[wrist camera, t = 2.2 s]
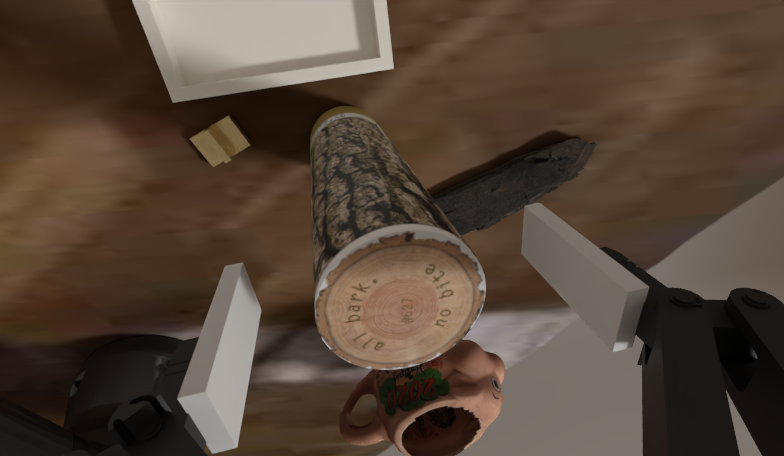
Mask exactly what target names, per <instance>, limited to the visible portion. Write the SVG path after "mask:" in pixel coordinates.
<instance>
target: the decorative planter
mask: <svg viewBox="0 0 784 456" xmlns="http://www.w3.org/2000/svg"><path fill="white" fill-rule="evenodd" d="M504 375H505V367H504V363H503V361H502V359H501V358H500V357H499V356H497V355H496V354H493V353H490V352H486V351H483V349H482V348H481V347H480V346H479V345H478V344H476V343H475V342H473V341H471V340H462V339H461V340H460V341H459V342H458V343H457V344H456V345H454V346H453V347H452V348H450V349H449V350H448V351H446V352H445V353H443V354H441V355H440V356H438V357H436V358H434V359H432V360H429V361H427V362H425V363H422V364H419V365H415V366H412V367H407V368H402V369H394V370H377V369H373V370H372V371H370V373H369V374H368V375H367V376H366V377H365V378H363V379H362V380H361V381H360V382H359V384H358V385H357V386H356V388H355V389H354V390H353V391H352V393H351V394H350V396H349V398H348V400H347V402H346V404H345V405H344V408H343V411H342V412H341V414H340V422H339V428H340V432H341V434H342V435H343V437H344V438H345V439H346V440H347V441H348V442H350V443H351V444H355V445H371V444H374V443H377V442H380V441H383V440H389V441H391V442H393V443H394V444H395V446H396V447H397V448H398V450H399V451H400V452H402V453H403V454H405V455H406V456H455V455H457V454H458V453H460V452H462V451H463V450H464V449H466V448H467V447H468V446H470V445H471V444H472V443H474V442H475V441H477V440H478V439H479V438H480V437H481V436H482V434H483V432H484V431H485V429H486V428H487V427H488V426H489V425H490V424H491V423H492V422H493V421H494V420H495V419H496V418H497V416H498V415H499V413H500V411H501V407H502V402H503V395H502V391H501V384H502V381H503V379H504ZM365 394H373V395H374V396H375V397H376V399H377V405H378V409H377V413H376V416H375V418H374V420H373V421H372V422H371V423H369V424H367V425H365V426H361V427H360V426H356V425H354V424H353V422H352V421H351V419H350V415H351V411H352V409H353V407H354V406H355V404H356V402H357V401H358V399H359V398H360V397H361V396H362V395H365Z"/></svg>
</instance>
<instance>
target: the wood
mask: <svg viewBox="0 0 784 456" xmlns="http://www.w3.org/2000/svg"><path fill="white" fill-rule="evenodd" d="M596 145H597V144H596V143H594V142H593V143H588V142H585V141H583V140H580V139H578V138H575V139H569V140H567V141H564V142H561V143H557V144H553V145H550V146H547V147H543V148H541V149H539V150H535V151H532V152H529V153H527V154H523V155H521V156H517V157H515V158H513V159H511V160H509V161H508V162H506V163H504V164H502V165H501V166H498V167H496V168H493V169H491V170H488V171H486V172H484V173H480V174H478V175H476V176H474V177H472V178H470V179H468V180H465V181H462V182H460V183H458V184H456V185H454V186H452V187H450V188H447V189H445V190H443V191H441V192H439V193H437V194H434V195H431V196H432V198H433V199H434V200H435V202H436V203H437V204H438V206H439V207H440V208H441V210H442V211H443V212H444V214H445V215H446V217H447V218H448V219H449V221H450V222H451V223H452V225H453V226H454V227H455V229H456V230H457V231H458V233H459V234H460V235H463V234H465V233H468V232H470V231H472V230H475V229H477V230H478V231H480V230H483V229H487V228H489V227H490V226H492V225H494V224H495V223H497V222H499V221H500V220H501V219H502V218H505V217H507V216H509V215H511V214H513V213H515V212H517V211H519V210H520V209H522V208H523V207H524V206H526V205H530V204H531V203H532V202H534V201H536V200H537V199H539V198H541V197H542V196H543V195H544V194H545V193H549V192H551V191H552V190H555V189H556V188H558V187H556V186H557V185H561V184H563V183H564V182H566V181H570V180H572V179H573V178H575V177H576V176H577V175H578V174H577V172H579V171H581V170H583V169H584V168H583V167H584V166H585V165H586V163H587V161H588V159H589V157H590V156H591V154H592V152H593V150H594V148H595V146H596Z"/></svg>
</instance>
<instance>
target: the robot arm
mask: <svg viewBox="0 0 784 456" xmlns="http://www.w3.org/2000/svg"><path fill="white" fill-rule="evenodd" d="M521 254H522V255H523V256H524V257H525V258H526V259H527V260H528V262H529V263H530V264H531V265H532V266H533V267H534V268H535V269H536V270H537V271H538V272H539V273H540V274H541V276H542V277H543V278H544V279H545V280H546V281H547V282H548V283H549V284H550V285H551V286H552V287H553V288H554V290H555V291H556V292H557V293H558V294H559V295H560V296H561V297H562V298H563V299H564V300H565V301H566V302H567V304H568V305H569V306H570V307H571V308H572V309H573V310H574V311H575V312H576V313H577V314H578V315H579V316H580V318H582V320H583V321H584V322H585V323H586V324H587V325H588V326H589V327H590V328H591V329H592V330H593V331H594V333H595V334H596V335H597V336H598V337H599V338H600V339H601V340H602V341H603V342H604V343H605V344H606V345H607V347H608V348H609V349H610V350H611V351H612V352H615V351H619V350H623V349H627V348H631V347H632V346H633V342H634V339H635V335H637V336H638V337H639V338H640V339H641V340H642V341H643V342H644V345H643V348H642V351H641V354H640V358H639V361H638V365H642V406H643V407H642V408H643V409H642V410H643V411H642V414H643V456H740V455H739V450H738V445H737V440H736V436H735V431H734V426H733V422H732V417H731V412H730V408H729V403H728V398H727V394H726V390H727V392H728V394H729V396H730V398H731V399H732V401H733V403H734V405H735V407H736V409H737V411H738V412H739V414H740V416H741V418H742V419H743V421H744V423H745V425H746V427H747V429H748V431H749V432H750V434H751V436H752V438H753V440H754V441H755V443H756V445H757V447H758V449H759V451H760V452H761V454H762V456H784V304H783V303H782V302H781V301H779V300H778V299H777V298H775V297H773V296H772V295H770V294H767V293H766V292H763V291H760V290H756V289H750V288H736V289H734V290H732V291H731V293H730V294H729V297H728V299H727V300H704V299H702V298H701V297H700V296H699V295H697V294H695V293H693V292H691V291H688V290H684V289H681V288H667V287H666V286H665V285H663V284H662V283H660V282H659V281H657V280H656V279H655V278H653V277H652V276H651V275H649V274H648V273H647V272H645V271H644V270H643V269H641V268H640V267H639V268H638V266H637V265H636V264H634V263H633V262H632V261H631V262H630V261H629V259H628V258H626V257H625V256H623V255H622V254H621V253H619V252H617V251H615V250H612V249H610V248H607V247H603V248H598V247H597V246H595V245H594V244H593V243H591V242H590V241H589V240H587V239H586V238H585V237H584V236H582V235H581V234H580V233H578V232H577V231H576V230H574V229H573V228H572V227H571V226H569V225H568V224H567V223H565V222H564V221H563V220H561V219H560V218H559V217H558V216H556V215H555V214H554V213H552V212H551V211H550V210H548V209H547V208H546V207H544V206H543V205H542V204H541V203H535V204H531V205H526V206H524V220H523V236H522V251H521ZM260 315H261V308H260V305H259V303H258V300H257V297H256V295H255V292H254V290H253V287H252V285H251V282H250V279H249V277H248V274H247V272H246V269H245V267H244V264H243V263H238V264H233V265H228V266H225V267H224V270H223V273H222V276H221V278H220V281H219V284H218V287H217V290H216V292H215V295H214V298H213V301H212V303H211V306H210V309H209V312H208V314H207V317H206V320H205V323H204V325H203V328H202V331H201V334H200V337H198V338H193V339H188V340H184V341H180V340H177V339H173V338H167V337H160V336H138V337H130V338H125V339H121V340H118V341H114V342H112V343H109V344H107V345H105V346H103V347H101V348H100V349H98V350H97V351H95V352H94V353H93V354H92V355H91V356H90V357H89V358H88V359H87V360H86V362H85V363H84V365H83V366H82V368H81V369H80V371H79V372H78V374H77V375H76V377H75V379H74V381H73V383H72V386H71V390H70V398H69V401H68V406H67V410H66V416H65V421H64V426H63V427H61V426H59V425H57V424H55V423H53V422H51V421H49V420H47V419H45V418H43V417H41V416H39V415H37V414H35V413H34V412H32V411H30V410H28V409H26V408H24V407H22V406H20V405H18V404H16V403H14V402H12V401H10V400H8V399H6V398H5V397H3V396H1V395H0V456H207V455H206V453H205V452H204V449H205V445H206V444H207V446H208V448H209V449H210V451H211V452H212V454H214V453H218V452H221V451H225V450H229V449H233V448H237V446H238V440H239V434H240V429H241V423H242V417H243V412H244V406H245V400H246V395H247V389H248V383H249V377H250V372H251V366H252V360H253V355H254V349H255V343H256V338H257V332H258V326H259V321H260Z"/></svg>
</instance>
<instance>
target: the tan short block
mask: <svg viewBox="0 0 784 456" xmlns="http://www.w3.org/2000/svg"><path fill="white" fill-rule="evenodd" d="M190 140H191V141H192V142H193V144H194V145H195V146H196V147H197V148H198V150H199V151H200V152H201V153H202V154H203V156H204V157H205V158H206V159H207V160H208V162H209V163H210V164H211V165H212V166H213V167H214V166H216V165H218V164H220V163H221V162H223V161H224V162H225V163H227V162H229V161H231V160H232V158H233V156H234V155H235V154H237V153H238V152H240V151H242V150H243V149H245V148H247V147H248V146H250V145H251V141H250V140H249V139H248V137H247V136H246V135H245V133H244V132H243V131H242V129H241V128H240V126H239V125H238V124H237V122H236V121H235V120H234V118H233V117H232V116H231V114H229V115H227V116H226V117H224V118H222V119H221V120H219V121H217V122H216V123H214V124H212V125H211V126H209V127H207V128H206V129H204V130H202V131H201V132H199V133H197V134H195V135H194V136H192V137H191V138H190Z"/></svg>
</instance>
